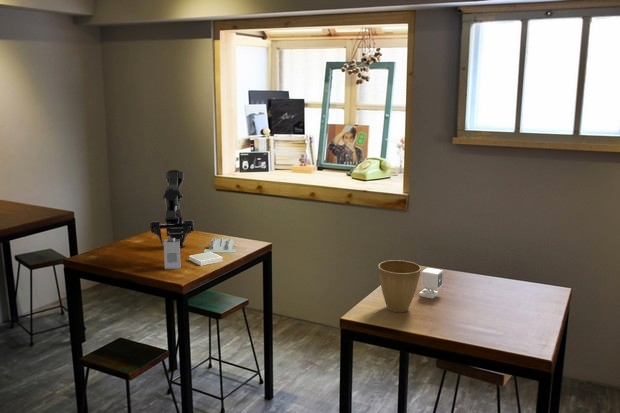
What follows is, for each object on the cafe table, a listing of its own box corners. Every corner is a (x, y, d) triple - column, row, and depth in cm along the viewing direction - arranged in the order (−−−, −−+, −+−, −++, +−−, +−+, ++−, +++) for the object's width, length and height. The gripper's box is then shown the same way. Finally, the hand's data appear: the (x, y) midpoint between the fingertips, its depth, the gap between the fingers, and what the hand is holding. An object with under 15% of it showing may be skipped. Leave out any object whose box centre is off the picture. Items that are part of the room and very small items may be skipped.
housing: (165, 265, 269) (164, 237, 267) (180, 265, 270) (179, 236, 268) (164, 269, 264) (163, 240, 262) (180, 268, 265) (178, 239, 263)
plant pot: (370, 311, 217) (371, 268, 214) (387, 298, 230) (389, 257, 226) (409, 320, 210) (411, 275, 206) (425, 306, 222) (427, 264, 219)
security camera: (436, 299, 229) (437, 274, 227) (418, 296, 233) (419, 271, 231) (442, 294, 234) (443, 269, 232) (424, 291, 238) (425, 266, 236)
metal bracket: (207, 235, 300) (238, 235, 300) (208, 245, 303) (238, 245, 303) (202, 250, 288) (234, 250, 288) (203, 261, 291) (235, 261, 290)
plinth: (189, 260, 278) (189, 255, 278) (210, 255, 285) (210, 251, 284) (201, 265, 270) (200, 261, 269) (222, 261, 276) (222, 256, 276)
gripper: (149, 203, 269) (148, 233, 260) (192, 202, 272) (193, 232, 263) (151, 217, 278) (150, 247, 269) (193, 216, 281) (194, 245, 272)
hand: (172, 242), depth 268 cm, fingers open, 9 cm apart
